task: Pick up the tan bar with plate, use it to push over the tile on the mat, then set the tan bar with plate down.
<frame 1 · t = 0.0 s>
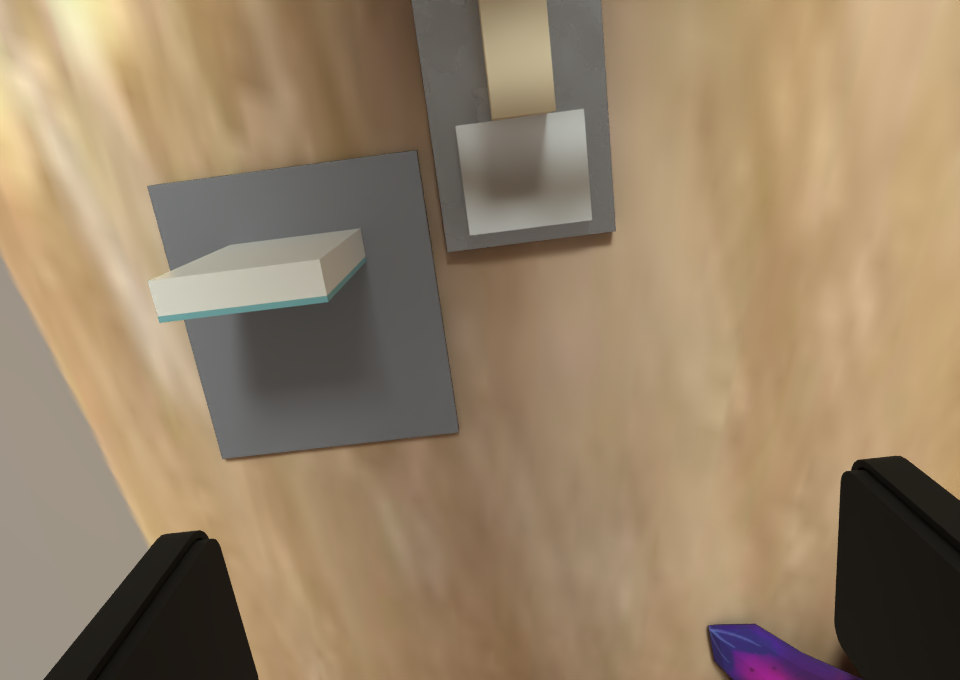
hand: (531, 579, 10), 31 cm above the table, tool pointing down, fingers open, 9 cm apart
mat: (313, 314, 41), on the table
tan bar with plate: (510, 40, 35), point 1 cm above the table, touching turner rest
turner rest: (509, 42, 36), on the table
tile: (272, 269, 34), point 5 cm above the table, touching mat
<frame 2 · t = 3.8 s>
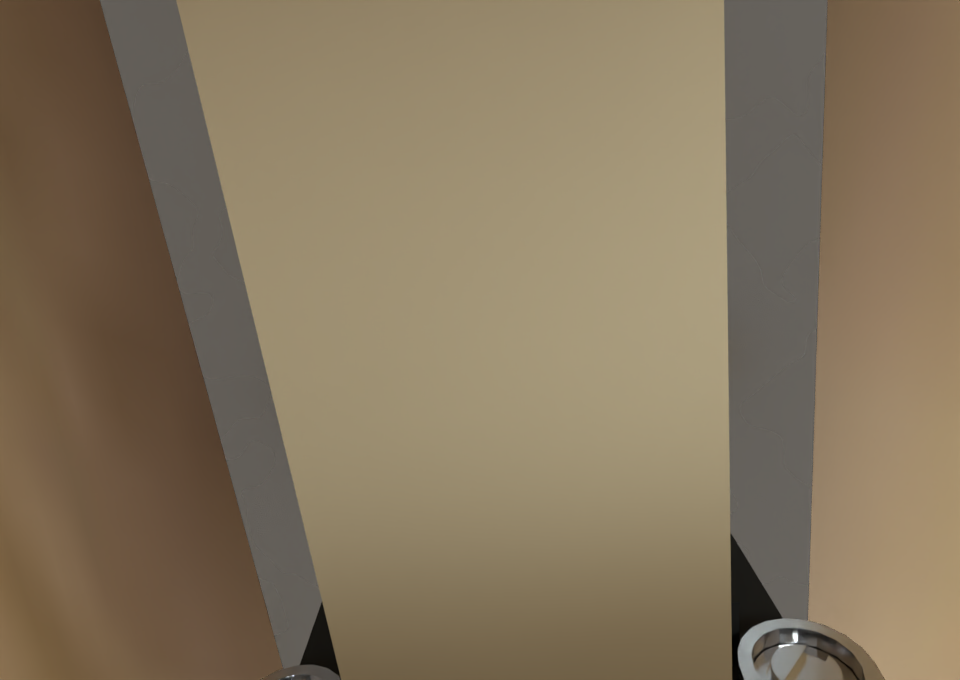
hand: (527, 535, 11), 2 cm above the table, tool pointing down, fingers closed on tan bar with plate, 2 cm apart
tan bar with plate: (524, 510, 11), point 1 cm above the table, touching gripper, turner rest
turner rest: (521, 481, 12), on the table
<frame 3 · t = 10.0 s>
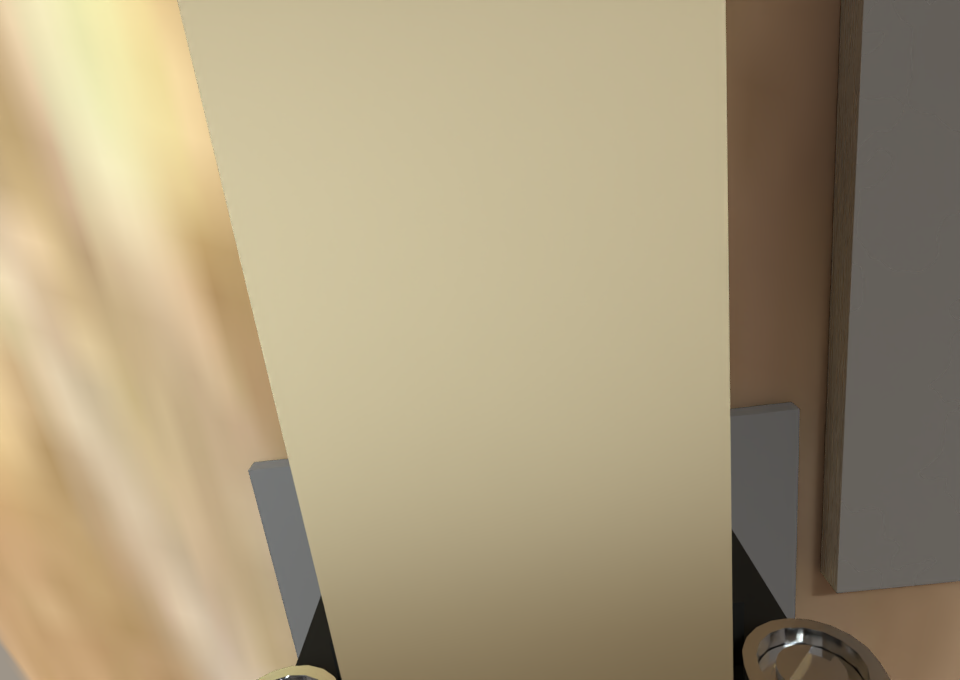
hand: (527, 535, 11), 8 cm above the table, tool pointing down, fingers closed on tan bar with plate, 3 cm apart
mat: (546, 673, 22), on the table
tan bar with plate: (525, 514, 11), point 7 cm above the table, touching gripper
when the fingers open (3 cm above the table, at t = 17.1 s): tan bar with plate drops 1 cm, resting on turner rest.
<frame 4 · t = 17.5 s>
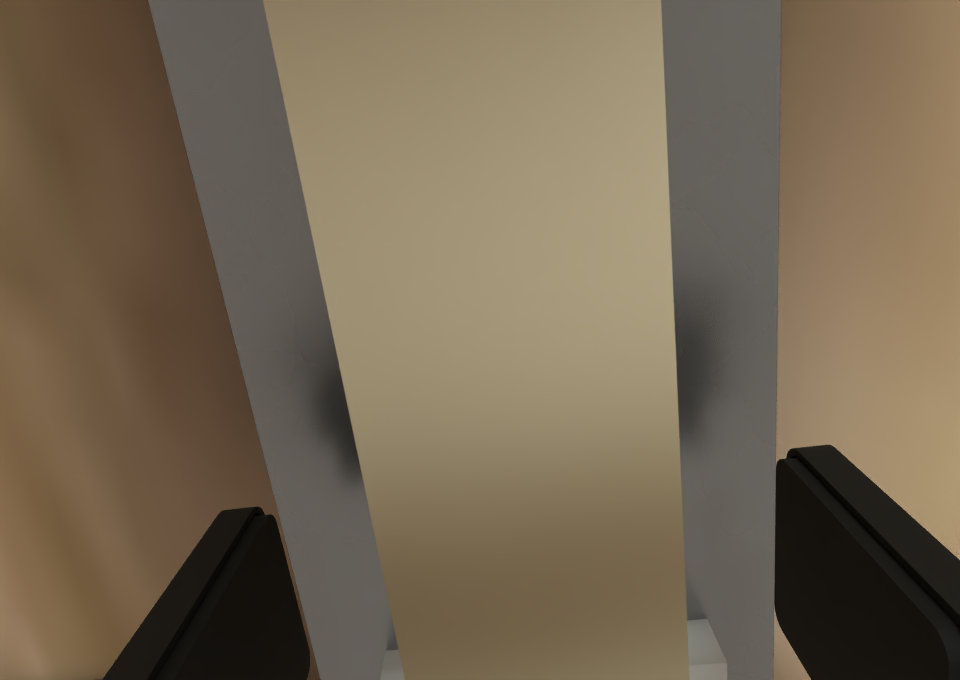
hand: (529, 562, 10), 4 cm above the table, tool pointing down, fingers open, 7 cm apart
tan bar with plate: (524, 472, 13), point 1 cm above the table, touching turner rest
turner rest: (518, 447, 14), on the table
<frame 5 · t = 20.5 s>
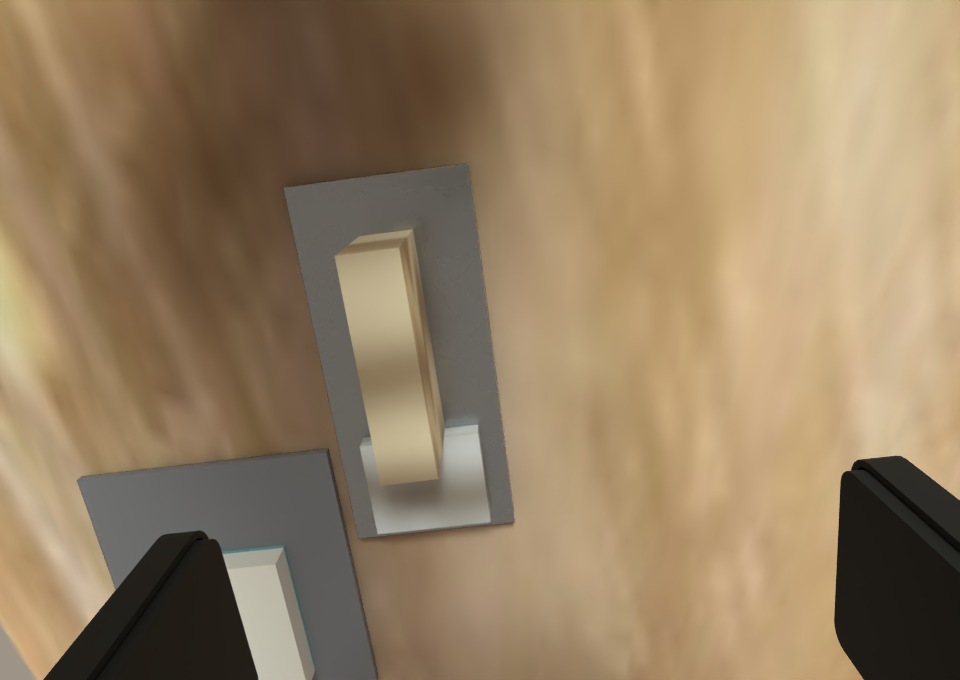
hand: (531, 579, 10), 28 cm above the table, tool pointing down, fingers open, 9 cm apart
mat: (237, 581, 44), on the table
tan bar with plate: (409, 369, 38), point 1 cm above the table, touching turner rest
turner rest: (410, 362, 39), on the table
tile: (237, 624, 43), point 1 cm above the table, tilted 90°, touching mat
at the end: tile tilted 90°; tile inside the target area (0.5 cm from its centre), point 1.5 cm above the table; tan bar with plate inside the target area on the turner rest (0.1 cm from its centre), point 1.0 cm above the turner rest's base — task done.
